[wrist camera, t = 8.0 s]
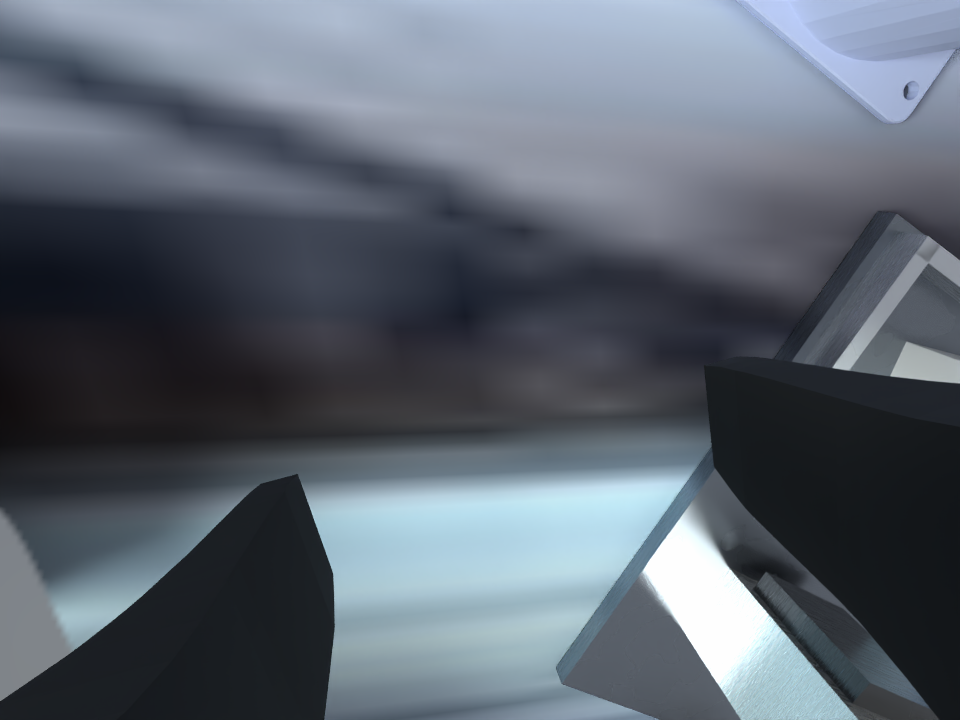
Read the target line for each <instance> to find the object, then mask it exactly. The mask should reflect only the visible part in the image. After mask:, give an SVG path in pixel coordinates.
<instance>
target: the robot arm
mask: <svg viewBox="0 0 960 720" xmlns="http://www.w3.org/2000/svg"><path fill="white" fill-rule="evenodd" d="M736 1H737V2H738V3H739V4H741V5H742V6H743V7H744V8H745V9H747V10H748V11H749V12H750V13H751V14H753V15H754V16H755V17H756V18H757V19H759V20H760V21H761V22H762V23H764V24H765V25H766V26H767V27H768V28H770V29H771V30H772V31H773V32H774V33H776V34H777V35H778V36H779V37H780V38H782V39H783V40H784V41H785V42H786V43H788V44H789V45H790V46H791V47H792V48H794V49H795V50H796V51H797V52H798V53H800V54H801V55H802V56H803V57H804V58H806V59H807V60H808V61H809V62H811V63H812V64H813V65H814V66H815V67H817V68H818V69H819V70H820V71H821V72H823V73H824V74H825V75H826V76H827V77H829V78H830V79H831V80H832V81H833V82H835V83H836V84H837V85H838V86H839V87H841V88H842V89H843V90H844V91H845V92H847V93H848V94H849V95H850V96H851V97H853V98H854V99H855V100H856V101H857V102H859V103H860V104H861V105H862V106H864V107H865V108H866V109H867V110H868V111H870V112H871V113H872V114H873V115H874V116H876V117H877V118H878V119H879V120H880V121H882V122H884V123H886V124H892V123H901V122H903V121H905V120H906V119H907V118H908V117H909V116H910V115H911V113H912V112H913V110H914V109H915V107H916V106H917V105H918V103H919V102H920V100H921V99H922V97H923V96H924V94H925V93H926V92H927V90H928V89H929V87H930V86H931V84H932V83H933V81H934V80H935V79H936V77H937V76H938V74H939V73H940V71H941V70H942V68H943V67H944V66H945V64H946V63H947V61H948V60H949V58H950V57H951V56H952V54H953V53H954V51H955V50H956V49H957V48H960V0H736ZM906 84H907V85H908V87H909V92H908V94H907V97H906V98H905V97H904V96H903V90H904V87H905V85H906ZM704 369H705V380H706V390H707V401H708V411H709V422H710V432H711V443H712V453H713V464H714V468H715V469H716V470H717V472H718V473H719V474H720V476H721V477H722V479H723V480H724V481H725V483H726V484H727V485H728V487H729V488H730V490H731V491H732V492H733V493H734V495H735V496H736V497H737V498H738V500H739V501H740V502H741V504H742V505H743V506H744V507H745V509H746V510H747V511H748V512H749V513H750V514H751V515H752V516H753V517H754V518H755V519H756V520H757V521H758V522H759V523H760V524H761V525H762V526H763V527H764V528H765V529H766V530H767V531H768V532H769V533H770V534H771V535H772V536H773V537H774V538H775V539H776V540H777V541H778V542H779V543H780V544H781V545H782V546H783V547H784V548H785V549H787V550H788V551H789V552H790V553H791V554H792V555H793V556H794V557H795V558H796V559H797V560H798V561H799V562H800V563H801V564H802V565H803V566H804V567H805V568H806V569H807V570H808V571H809V572H810V573H811V574H812V575H813V576H814V577H815V578H816V579H817V580H818V581H819V582H820V583H821V584H822V585H824V586H825V587H826V588H827V589H828V590H829V591H830V592H831V593H832V594H833V595H834V596H835V597H836V598H837V599H838V600H839V601H840V602H841V603H842V604H843V605H844V606H845V607H846V609H847V610H848V611H849V612H850V613H851V614H852V615H853V616H854V617H855V618H856V619H857V620H858V621H859V622H860V623H861V624H862V626H863V627H864V628H865V629H866V630H867V632H868V633H869V634H870V635H871V636H872V638H873V639H874V640H875V641H876V642H877V644H878V645H879V646H880V647H881V648H882V650H883V651H884V652H885V653H886V654H887V655H888V657H889V658H890V659H891V660H892V661H893V663H894V664H895V665H896V666H897V667H898V669H899V670H900V671H901V672H902V673H903V675H904V676H905V677H906V678H907V680H908V681H909V682H910V683H911V685H912V686H913V687H914V688H915V690H916V691H917V692H918V693H919V695H920V696H921V697H922V698H923V700H924V701H925V702H926V704H927V705H928V706H929V707H930V709H931V710H932V711H933V712H934V714H935V715H936V716H937V717H938V719H939V720H960V383H949V382H937V381H927V380H919V379H910V378H901V377H892V376H884V375H877V374H870V373H862V372H856V371H849V370H842V369H836V368H829V367H823V366H816V365H810V364H803V363H797V362H790V361H783V360H776V359H768V358H758V357H734V358H730V359H727V360H723V361H719V362H715V363H712V364H708V365H704ZM334 627H335V624H334V583H333V572H332V569H331V566H330V563H329V561H328V558H327V555H326V552H325V549H324V547H323V544H322V541H321V538H320V535H319V533H318V530H317V527H316V524H315V521H314V519H313V516H312V513H311V510H310V507H309V505H308V502H307V499H306V496H305V493H304V491H303V488H302V485H301V482H300V479H299V476H298V474H296V475H292V476H288V477H285V478H281V479H277V480H273V481H270V482H266V483H262V484H260V485H259V486H258V487H256V488H255V489H254V490H253V491H251V492H250V493H249V494H248V495H247V496H246V497H245V498H244V499H243V500H242V501H241V502H240V503H239V504H238V505H237V506H236V507H235V508H234V509H233V510H232V511H231V512H230V513H229V514H228V515H227V516H226V517H225V518H224V519H223V520H222V521H221V522H220V523H219V524H218V525H217V526H216V527H215V528H214V529H213V530H212V531H211V532H210V533H209V534H208V535H207V536H206V537H205V538H204V539H203V540H202V541H201V542H200V543H199V544H198V545H197V546H196V547H195V548H194V549H193V550H192V551H191V552H190V553H189V554H187V555H186V556H185V557H184V558H183V559H182V560H181V561H180V562H179V563H178V564H177V565H176V566H174V567H173V568H172V569H171V570H170V571H169V572H168V573H167V574H166V575H165V576H164V577H163V578H161V579H160V580H159V581H158V582H157V583H156V584H155V585H154V586H153V587H152V588H151V589H149V590H148V591H147V592H146V593H145V594H144V595H143V596H142V597H141V598H139V599H138V600H137V601H136V602H135V603H134V604H132V605H131V606H130V607H129V608H128V609H126V610H125V611H124V612H123V613H122V614H120V615H119V616H118V617H117V618H116V619H114V620H113V621H112V622H111V623H109V624H108V625H107V626H105V627H104V628H103V629H101V630H100V631H99V632H98V633H96V634H95V635H94V636H92V637H91V638H90V639H89V640H87V641H86V642H85V643H83V644H82V645H81V646H80V647H78V648H77V649H75V650H74V651H73V652H71V653H70V654H69V655H67V656H66V657H65V658H63V659H62V660H60V661H59V662H57V663H56V664H54V665H53V666H51V667H50V668H48V669H47V670H46V671H44V672H43V673H41V674H40V675H38V676H37V677H35V678H34V679H32V680H31V681H29V682H28V683H27V684H25V685H24V686H22V687H21V688H19V689H18V690H16V691H15V692H13V693H12V694H10V695H9V696H8V697H6V698H5V699H3V700H2V701H0V720H324V716H325V708H326V699H327V691H328V682H329V674H330V665H331V656H332V647H333V638H334Z"/></svg>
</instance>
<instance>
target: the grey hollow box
mask: <svg viewBox="0 0 960 720" xmlns="http://www.w3.org/2000/svg"><path fill="white" fill-rule="evenodd" d="M906 342H910V343H914V344H918V345H921V346H925V347H929V348H933V349H937V350H940V351H944V352H948V353H952V354H956V355H959V356H960V260H959V259H957V258H956V257H955V256H953V255H952V254H951V253H950V252H948V251H947V250H946V249H944V248H943V247H942V246H941V245H939V244H938V243H937V242H935V241H934V240H933V239H932V238H930V237H929V236H925V235H924V234H923V233H921V232H920V231H919V230H918V229H916V228H915V227H914V226H912V225H911V224H910V223H909V222H907V221H906V220H905V219H903V218H902V217H901V216H899V215H898V214H896V213H888V212H880V211H878V212H877V214H876V215H875V216H874V218H873V219H872V221H871V222H870V223H869V225H868V226H867V228H866V229H865V231H864V232H863V233H862V235H861V236H860V238H859V239H858V240H857V242H856V243H855V245H854V246H853V248H852V249H851V250H850V252H849V253H848V255H847V256H846V257H845V259H844V260H843V262H842V263H841V265H840V266H839V267H838V269H837V270H836V272H835V273H834V274H833V276H832V277H831V279H830V280H829V282H828V283H827V284H826V286H825V287H824V289H823V290H822V291H821V293H820V294H819V296H818V297H817V299H816V300H815V301H814V303H813V304H812V306H811V307H810V308H809V310H808V311H807V313H806V314H805V316H804V317H803V318H802V320H801V321H800V323H799V324H798V325H797V327H796V328H795V330H794V331H793V333H792V334H791V335H790V337H789V338H788V340H787V341H786V342H785V344H784V345H783V347H782V348H781V350H780V351H779V352H778V354H777V355H776V357H775V358H774V359H776V360H783V361H790V362H797V363H803V364H810V365H816V366H823V367H829V368H836V369H842V370H849V371H856V372H862V373H870V374H877V375H884V376H890V375H891V373H892V371H893V369H894V367H895V365H896V363H897V360H898V358H899V356H900V354H901V352H902V350H903V348H904V346H905V343H906ZM556 669H557V672H558V675H559V678H560V680H561V683H562V684H563V685H566V686H569V687H572V688H574V689H577V690H580V691H583V692H585V693H588V694H591V695H594V696H597V697H599V698H602V699H605V700H608V701H610V702H613V703H616V704H619V705H622V706H624V707H627V708H630V709H633V710H635V711H638V712H641V713H644V714H646V715H649V716H652V717H655V718H658V719H660V720H939V719H938V717H937V716H936V715H935V714H934V712H933V711H932V710H931V709H930V707H929V706H928V705H927V704H926V702H925V701H924V700H923V698H922V697H921V696H920V695H919V693H918V692H917V691H916V690H915V688H914V687H913V686H912V685H911V683H910V682H909V681H908V680H907V678H906V677H905V676H904V675H903V673H902V672H901V671H900V670H899V669H898V667H897V666H896V665H895V664H894V663H893V661H892V660H891V659H890V658H889V657H888V655H887V654H886V653H885V652H884V651H883V650H882V648H881V647H880V646H879V645H878V644H877V642H876V641H875V640H874V639H873V638H872V636H871V635H870V634H869V633H868V632H867V630H866V629H865V628H864V627H863V626H862V624H861V623H860V622H859V621H858V620H857V619H856V618H855V617H854V616H853V615H852V614H851V613H850V612H849V611H848V610H847V609H846V607H845V606H844V605H843V604H842V603H841V602H840V601H839V600H838V599H837V598H836V597H835V596H834V595H833V594H832V593H831V592H830V591H829V590H828V589H827V588H826V587H825V586H824V585H822V584H821V583H820V582H819V581H818V580H817V579H816V578H815V577H814V576H813V575H812V574H811V573H810V572H809V571H808V570H807V569H806V568H805V567H804V566H803V565H802V564H801V563H800V562H799V561H798V560H797V559H796V558H795V557H794V556H793V555H792V554H791V553H790V552H789V551H788V550H787V549H785V548H784V547H783V546H782V545H781V544H780V543H779V542H778V541H777V540H776V539H775V538H774V537H773V536H772V535H771V534H770V533H769V532H768V531H767V530H766V529H765V528H764V527H763V526H762V525H761V524H760V523H759V522H758V521H757V520H756V519H755V518H754V517H753V516H752V515H751V514H750V513H749V512H748V511H747V510H746V509H745V507H744V506H743V505H742V504H741V502H740V501H739V500H738V498H737V497H736V496H735V495H734V493H733V492H732V491H731V490H730V488H729V487H728V485H727V484H726V483H725V481H724V480H723V479H722V477H721V476H720V474H719V473H718V472H717V470H716V469H715V468H714V464H713V453H712V447H711V449H710V450H709V452H708V453H707V454H706V456H705V457H704V459H703V460H702V461H701V463H700V464H699V466H698V467H697V469H696V470H695V471H694V473H693V474H692V476H691V477H690V478H689V480H688V481H687V483H686V484H685V486H684V487H683V488H682V490H681V491H680V493H679V494H678V495H677V497H676V498H675V500H674V501H673V503H672V504H671V505H670V507H669V508H668V510H667V511H666V513H665V514H664V515H663V517H662V518H661V520H660V521H659V522H658V524H657V525H656V527H655V528H654V530H653V531H652V532H651V534H650V535H649V537H648V538H647V539H646V541H645V542H644V544H643V545H642V547H641V548H640V549H639V551H638V552H637V554H636V555H635V556H634V558H633V559H632V561H631V562H630V564H629V565H628V566H627V568H626V569H625V571H624V572H623V573H622V575H621V576H620V578H619V579H618V581H617V582H616V583H615V585H614V586H613V588H612V589H611V590H610V592H609V593H608V595H607V596H606V598H605V599H604V600H603V602H602V603H601V605H600V606H599V607H598V609H597V610H596V612H595V613H594V615H593V616H592V617H591V619H590V620H589V622H588V623H587V624H586V626H585V627H584V629H583V630H582V632H581V633H580V634H579V636H578V637H577V639H576V640H575V641H574V643H573V644H572V646H571V647H570V649H569V650H568V651H567V653H566V654H565V656H564V657H563V658H562V660H561V661H560V663H559V664H558V666H557V667H556Z"/></svg>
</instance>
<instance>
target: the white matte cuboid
mask: <svg viewBox="0 0 960 720" xmlns="http://www.w3.org/2000/svg"><path fill="white" fill-rule="evenodd" d="M890 376H892V377H901V378H910V379H919V380H927V381H937V382H949V383H960V356H959V355H956V354H952V353H948V352H944V351H940V350H937V349H933V348H929V347H925V346H921V345H918V344H914V343H910V342H906V343H905V346H904V348H903V350H902V352H901V354H900V356H899V358H898V360H897V363H896V365H895V367H894V369H893V371H892V373H891V375H890Z"/></svg>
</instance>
